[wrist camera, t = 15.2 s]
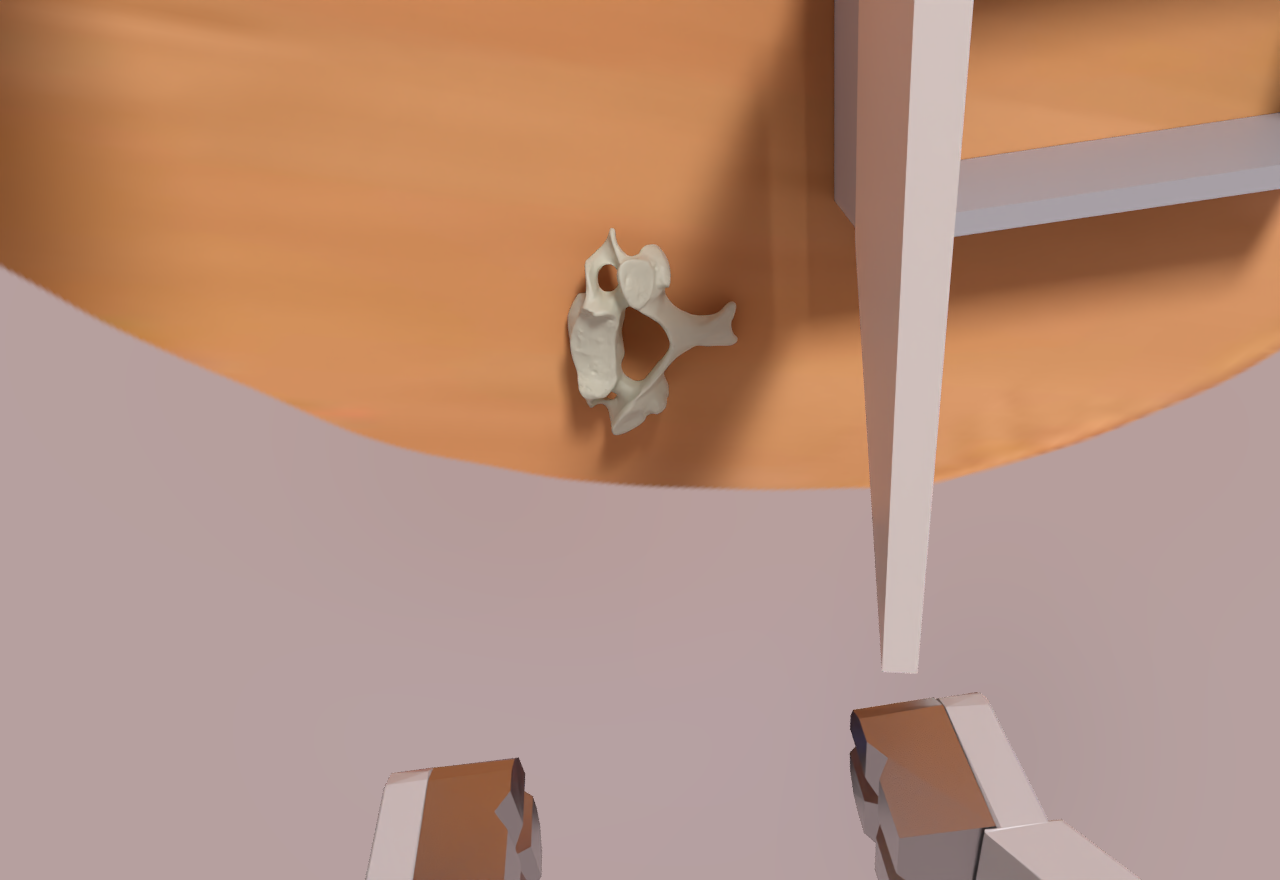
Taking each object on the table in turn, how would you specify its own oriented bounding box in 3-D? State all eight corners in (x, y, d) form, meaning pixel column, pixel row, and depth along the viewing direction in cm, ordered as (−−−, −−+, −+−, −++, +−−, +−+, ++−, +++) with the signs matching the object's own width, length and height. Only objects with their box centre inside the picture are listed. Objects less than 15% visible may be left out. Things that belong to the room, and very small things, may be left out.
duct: (834, 200, 47) (871, 249, 41) (834, -164, 38) (882, -167, 32) (1318, 128, 47) (1424, 167, 41) (1439, -257, 37) (1598, -278, 32)
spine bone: (717, 392, 55) (747, 431, 51) (564, 414, 53) (583, 457, 49) (730, 207, 49) (765, 236, 45) (556, 222, 46) (578, 254, 42)
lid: (872, 241, 41) (855, 242, 41) (883, -147, 32) (860, -144, 32) (917, 673, 20) (882, 671, 20) (979, -76, 12) (918, -68, 12)
